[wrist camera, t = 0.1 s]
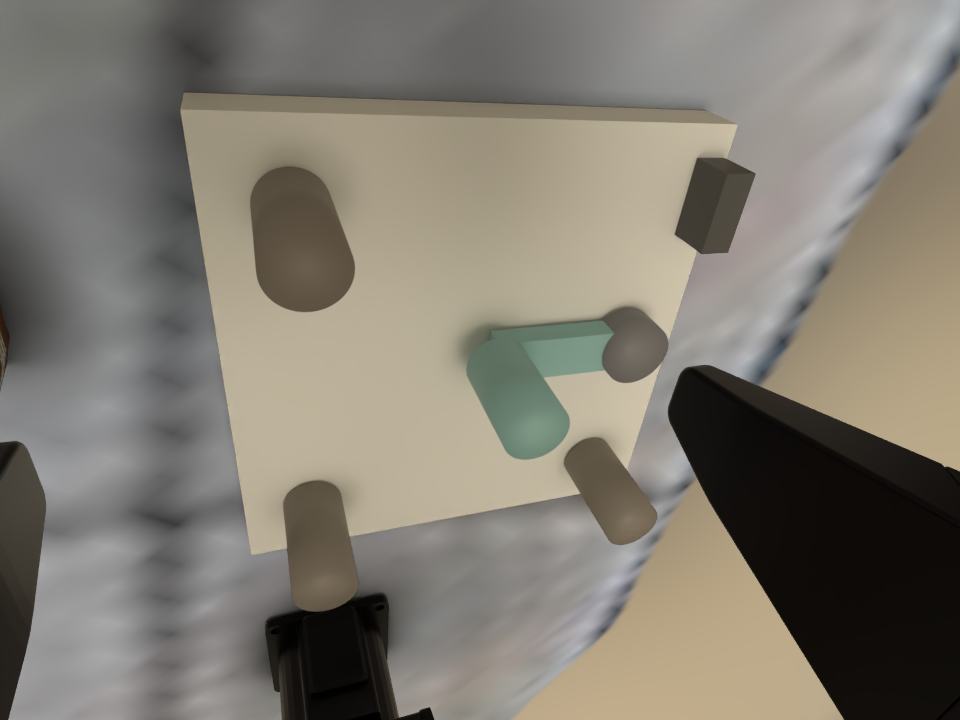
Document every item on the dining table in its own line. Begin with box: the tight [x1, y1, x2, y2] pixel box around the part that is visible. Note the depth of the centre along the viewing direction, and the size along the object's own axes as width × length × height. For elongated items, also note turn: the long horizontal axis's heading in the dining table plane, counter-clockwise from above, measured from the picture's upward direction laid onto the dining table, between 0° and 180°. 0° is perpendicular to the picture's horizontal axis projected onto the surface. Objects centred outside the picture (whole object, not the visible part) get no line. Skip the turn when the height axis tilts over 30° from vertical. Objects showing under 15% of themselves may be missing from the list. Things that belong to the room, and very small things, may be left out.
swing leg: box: [466, 308, 668, 460], centre depth 23 cm, size 9×3×5 cm, turn 84°
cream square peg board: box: [180, 92, 755, 612], centre depth 24 cm, size 18×18×6 cm
